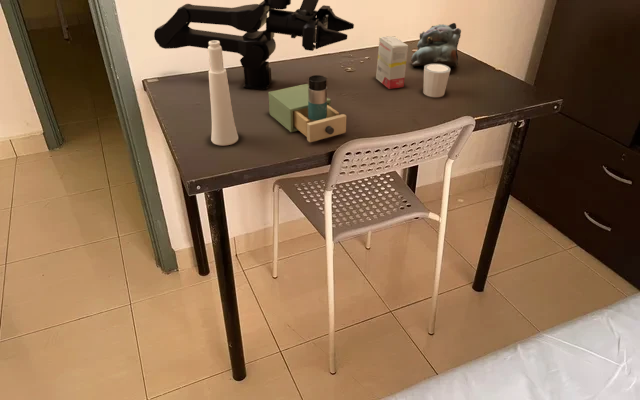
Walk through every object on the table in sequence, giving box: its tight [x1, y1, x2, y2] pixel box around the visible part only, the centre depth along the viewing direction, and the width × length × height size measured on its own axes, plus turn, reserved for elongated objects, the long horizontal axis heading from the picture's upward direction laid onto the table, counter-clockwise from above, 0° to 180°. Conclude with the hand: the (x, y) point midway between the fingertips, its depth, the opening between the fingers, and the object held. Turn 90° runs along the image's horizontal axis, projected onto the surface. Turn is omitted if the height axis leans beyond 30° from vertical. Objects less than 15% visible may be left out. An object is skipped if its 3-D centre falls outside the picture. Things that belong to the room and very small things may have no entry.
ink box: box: [375, 36, 409, 90], centre depth 138 cm, size 9×5×12 cm, turn 19°
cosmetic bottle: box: [207, 40, 239, 147], centre depth 107 cm, size 6×6×22 cm
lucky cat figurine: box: [410, 22, 462, 68], centre depth 150 cm, size 15×12×14 cm
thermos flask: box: [308, 74, 328, 123], centre depth 113 cm, size 4×4×11 cm
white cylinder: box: [422, 64, 451, 98], centre depth 134 cm, size 7×7×7 cm
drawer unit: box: [268, 83, 332, 133], centre depth 121 cm, size 11×11×6 cm
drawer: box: [293, 105, 347, 143], centre depth 115 cm, size 12×10×4 cm
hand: (350, 31), depth 126 cm, fingers open, 9 cm apart
